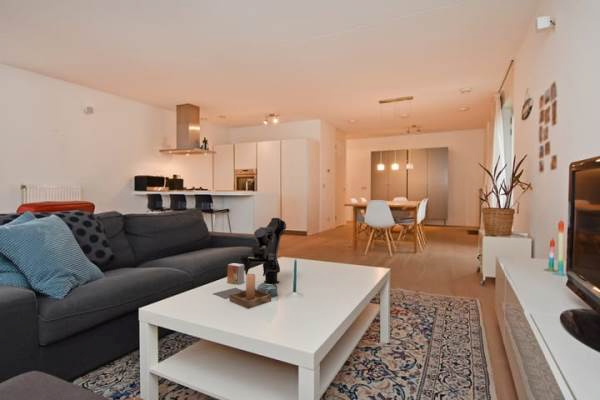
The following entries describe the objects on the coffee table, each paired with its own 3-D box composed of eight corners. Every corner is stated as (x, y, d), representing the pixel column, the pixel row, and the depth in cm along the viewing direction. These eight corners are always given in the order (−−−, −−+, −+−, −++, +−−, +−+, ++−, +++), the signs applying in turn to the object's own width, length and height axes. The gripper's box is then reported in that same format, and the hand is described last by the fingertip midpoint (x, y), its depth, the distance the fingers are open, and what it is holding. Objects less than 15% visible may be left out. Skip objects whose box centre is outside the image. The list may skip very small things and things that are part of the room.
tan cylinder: (251, 298, 155) (251, 273, 154) (256, 300, 152) (257, 275, 152) (244, 300, 152) (244, 274, 151) (249, 303, 149) (250, 276, 149)
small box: (227, 282, 183) (227, 264, 182) (233, 280, 188) (233, 262, 187) (238, 284, 179) (238, 266, 179) (244, 282, 184) (244, 264, 184)
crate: (252, 295, 162) (252, 288, 162) (271, 302, 152) (271, 294, 152) (229, 301, 152) (229, 294, 151) (247, 309, 142) (247, 302, 142)
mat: (235, 288, 172) (235, 287, 172) (248, 293, 164) (248, 292, 164) (212, 294, 161) (212, 293, 161) (225, 300, 154) (225, 298, 154)
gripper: (241, 238, 163) (232, 264, 153) (276, 240, 159) (269, 267, 149) (247, 251, 171) (238, 276, 161) (280, 253, 167) (274, 279, 157)
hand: (254, 275), depth 157 cm, fingers open, 9 cm apart
